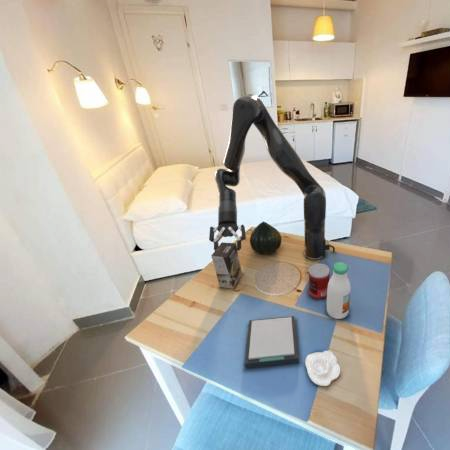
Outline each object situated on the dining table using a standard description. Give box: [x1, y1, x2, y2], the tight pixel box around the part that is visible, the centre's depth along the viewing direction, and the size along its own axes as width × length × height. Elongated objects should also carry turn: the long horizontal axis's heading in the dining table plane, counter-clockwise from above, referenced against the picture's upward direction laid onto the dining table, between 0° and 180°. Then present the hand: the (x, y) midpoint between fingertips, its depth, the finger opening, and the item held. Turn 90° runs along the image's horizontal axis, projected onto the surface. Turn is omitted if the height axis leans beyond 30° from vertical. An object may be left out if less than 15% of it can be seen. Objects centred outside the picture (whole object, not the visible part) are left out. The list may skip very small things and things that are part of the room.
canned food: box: [308, 263, 331, 300], centre depth 94 cm, size 8×8×11 cm
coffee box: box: [210, 242, 243, 290], centre depth 99 cm, size 9×6×16 cm
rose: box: [304, 350, 341, 387], centre depth 69 cm, size 10×4×10 cm
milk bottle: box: [326, 261, 352, 320], centre depth 84 cm, size 8×8×20 cm
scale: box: [244, 315, 299, 370], centre depth 77 cm, size 15×15×3 cm
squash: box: [249, 221, 282, 255], centre depth 121 cm, size 14×15×15 cm
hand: (227, 251), depth 100 cm, fingers open, 8 cm apart
